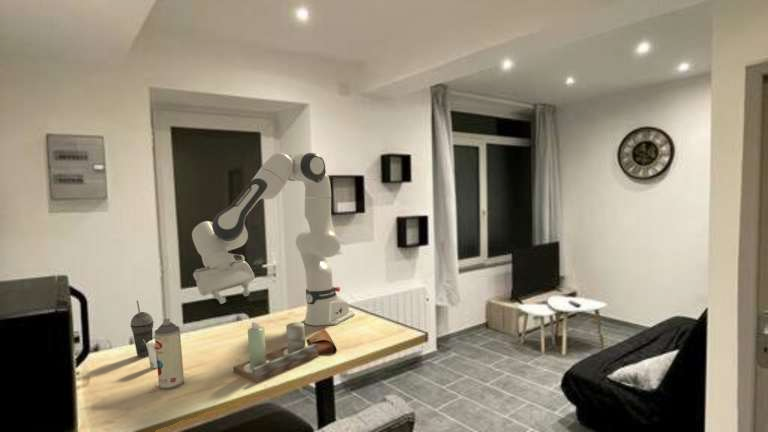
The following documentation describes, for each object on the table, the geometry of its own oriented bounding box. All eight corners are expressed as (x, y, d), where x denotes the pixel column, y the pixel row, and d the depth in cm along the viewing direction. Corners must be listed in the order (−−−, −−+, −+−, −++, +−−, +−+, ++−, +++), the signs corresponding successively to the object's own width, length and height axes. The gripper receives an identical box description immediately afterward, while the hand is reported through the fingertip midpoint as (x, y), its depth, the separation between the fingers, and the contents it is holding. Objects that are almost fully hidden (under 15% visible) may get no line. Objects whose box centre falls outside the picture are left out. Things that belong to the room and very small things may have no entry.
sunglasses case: (304, 339, 161) (312, 323, 162) (320, 345, 164) (328, 329, 164) (312, 356, 144) (322, 338, 145) (330, 364, 147) (339, 346, 147)
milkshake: (146, 366, 142) (143, 337, 142) (164, 362, 145) (161, 334, 144) (144, 371, 138) (142, 341, 138) (163, 367, 140) (160, 338, 140)
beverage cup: (146, 359, 148) (141, 303, 146) (128, 359, 149) (123, 303, 148) (161, 351, 155) (156, 297, 153) (143, 350, 156) (139, 297, 155)
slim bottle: (260, 361, 138) (258, 319, 137) (269, 365, 135) (267, 322, 134) (247, 366, 134) (244, 323, 133) (255, 370, 131) (253, 326, 130)
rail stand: (295, 347, 154) (294, 318, 153) (319, 355, 145) (317, 325, 144) (233, 371, 135) (231, 338, 134) (256, 382, 127) (254, 347, 126)
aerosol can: (157, 383, 129) (151, 319, 127) (181, 377, 133) (176, 314, 131) (160, 392, 123) (155, 324, 122) (186, 384, 127) (181, 319, 126)
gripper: (195, 265, 138) (212, 303, 135) (247, 254, 155) (263, 287, 152) (187, 275, 142) (203, 311, 138) (239, 263, 158) (255, 295, 155)
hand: (235, 298), depth 145 cm, fingers open, 8 cm apart
